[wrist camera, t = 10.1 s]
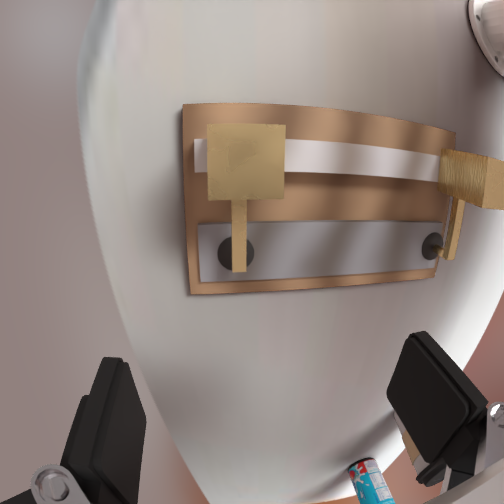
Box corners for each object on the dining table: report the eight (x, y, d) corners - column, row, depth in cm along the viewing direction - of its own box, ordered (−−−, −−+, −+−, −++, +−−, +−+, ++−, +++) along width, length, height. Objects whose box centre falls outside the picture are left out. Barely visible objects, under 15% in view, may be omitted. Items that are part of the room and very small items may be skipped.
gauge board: (448, 132, 25) (468, 134, 22) (428, 272, 31) (444, 285, 28) (184, 105, 22) (179, 101, 19) (191, 287, 28) (189, 306, 25)
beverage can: (346, 464, 46) (370, 525, 32) (375, 453, 46) (402, 511, 32) (347, 474, 48) (368, 530, 34) (373, 464, 48) (397, 518, 34)
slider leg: (263, 128, 21) (285, 124, 15) (261, 260, 25) (278, 304, 19) (208, 128, 21) (207, 124, 14) (211, 262, 24) (212, 307, 18)
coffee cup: (388, 430, 43) (421, 494, 29) (379, 408, 39) (419, 482, 26) (433, 403, 42) (472, 461, 28) (430, 376, 39) (479, 442, 25)
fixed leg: (462, 152, 24) (513, 164, 17) (447, 251, 27) (490, 279, 21) (434, 146, 23) (487, 156, 17) (420, 253, 27) (464, 284, 21)
